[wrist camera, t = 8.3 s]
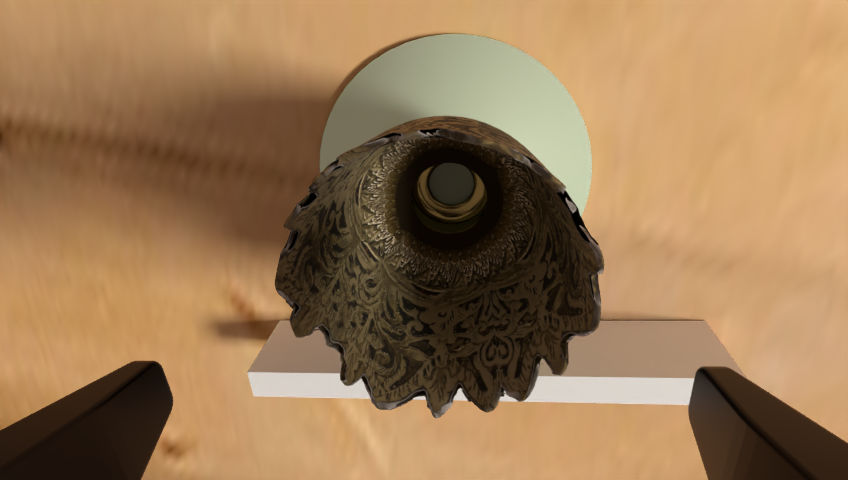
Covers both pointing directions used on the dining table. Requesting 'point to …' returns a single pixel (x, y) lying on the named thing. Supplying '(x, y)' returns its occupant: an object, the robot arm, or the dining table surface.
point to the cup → (441, 267)
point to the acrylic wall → (580, 383)
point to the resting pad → (465, 107)
